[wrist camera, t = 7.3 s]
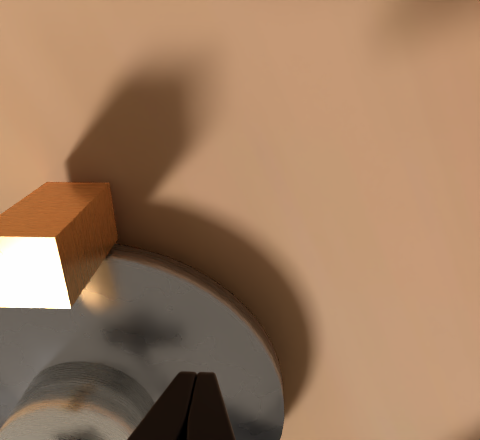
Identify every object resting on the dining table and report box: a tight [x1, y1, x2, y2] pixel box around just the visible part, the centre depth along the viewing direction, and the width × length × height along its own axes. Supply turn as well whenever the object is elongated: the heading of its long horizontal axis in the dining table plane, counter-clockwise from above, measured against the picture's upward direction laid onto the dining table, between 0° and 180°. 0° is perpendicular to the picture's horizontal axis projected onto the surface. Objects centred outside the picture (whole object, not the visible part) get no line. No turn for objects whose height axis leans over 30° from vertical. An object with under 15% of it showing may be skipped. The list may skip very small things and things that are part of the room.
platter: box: [0, 182, 284, 440], centre depth 20 cm, size 19×22×5 cm
